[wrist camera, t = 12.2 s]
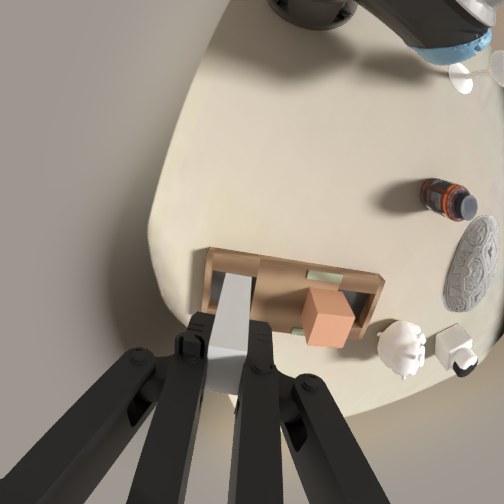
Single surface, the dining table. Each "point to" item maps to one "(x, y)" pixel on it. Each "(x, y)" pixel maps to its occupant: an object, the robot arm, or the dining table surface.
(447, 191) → the supplement bottle
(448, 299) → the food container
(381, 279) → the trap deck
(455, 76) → the champagne flute
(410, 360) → the figurine
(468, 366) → the medicine bottle
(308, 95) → the dining table surface
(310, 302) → the block
